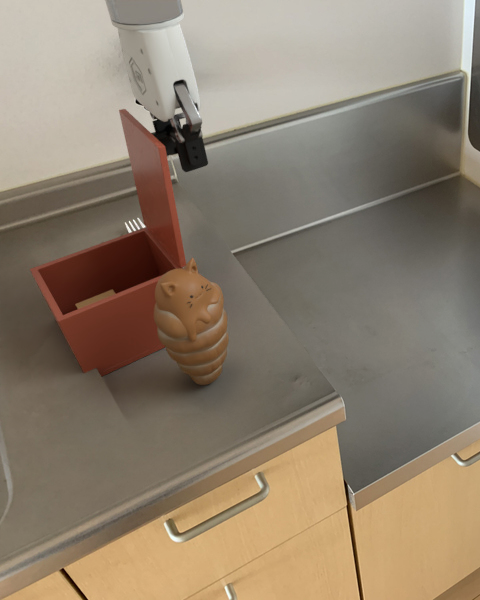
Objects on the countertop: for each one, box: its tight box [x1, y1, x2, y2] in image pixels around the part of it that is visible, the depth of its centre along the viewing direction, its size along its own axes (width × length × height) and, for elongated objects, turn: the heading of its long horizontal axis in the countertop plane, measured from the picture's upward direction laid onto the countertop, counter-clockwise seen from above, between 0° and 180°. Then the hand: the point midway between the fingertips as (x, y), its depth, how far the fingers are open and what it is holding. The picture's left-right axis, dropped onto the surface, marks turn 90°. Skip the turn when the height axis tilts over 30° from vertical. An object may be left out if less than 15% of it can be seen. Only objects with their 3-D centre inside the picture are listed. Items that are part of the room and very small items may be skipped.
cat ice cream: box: [154, 257, 230, 386], centre depth 73 cm, size 9×8×18 cm
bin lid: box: [118, 108, 187, 268], centre depth 78 cm, size 16×13×6 cm
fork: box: [124, 217, 146, 233], centre depth 98 cm, size 3×20×2 cm, turn 39°
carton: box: [75, 289, 116, 309], centre depth 82 cm, size 5×5×5 cm
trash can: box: [29, 226, 184, 377], centre depth 82 cm, size 16×13×11 cm
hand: (183, 156), depth 77 cm, fingers closed on bin lid, 6 cm apart
